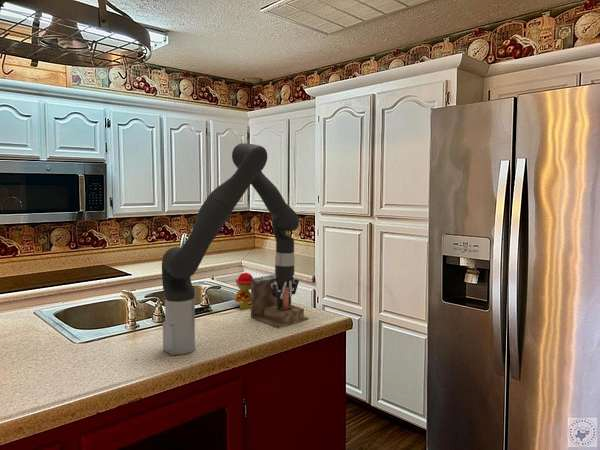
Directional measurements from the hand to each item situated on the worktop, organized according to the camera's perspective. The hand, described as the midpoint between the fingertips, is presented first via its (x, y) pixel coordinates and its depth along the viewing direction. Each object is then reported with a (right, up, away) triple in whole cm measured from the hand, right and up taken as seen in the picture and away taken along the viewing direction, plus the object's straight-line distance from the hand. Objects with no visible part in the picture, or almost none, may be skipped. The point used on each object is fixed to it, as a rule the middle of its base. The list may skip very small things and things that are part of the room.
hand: (284, 306), depth 174 cm
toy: (-17, -4, +17) cm, 25 cm away
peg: (0, -2, 0) cm, 2 cm away
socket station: (-2, -5, +3) cm, 6 cm away
